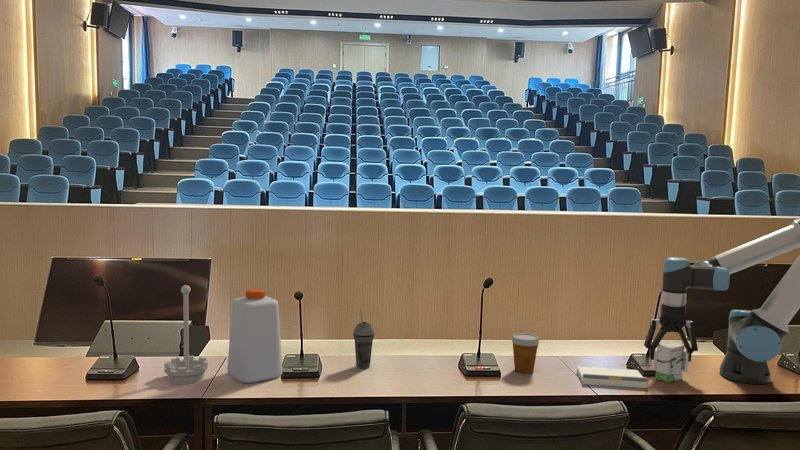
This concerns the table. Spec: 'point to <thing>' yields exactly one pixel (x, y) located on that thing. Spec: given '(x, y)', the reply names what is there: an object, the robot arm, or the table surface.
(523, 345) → the disposable coffee cup
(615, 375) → the white slab
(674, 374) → the ink box
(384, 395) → the table surface
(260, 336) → the plastic bottle
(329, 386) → the table surface
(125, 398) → the table surface
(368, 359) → the beverage cup
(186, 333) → the flag stand
